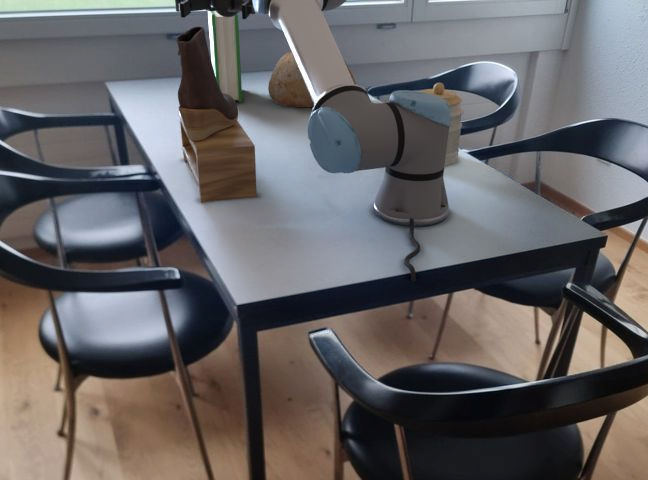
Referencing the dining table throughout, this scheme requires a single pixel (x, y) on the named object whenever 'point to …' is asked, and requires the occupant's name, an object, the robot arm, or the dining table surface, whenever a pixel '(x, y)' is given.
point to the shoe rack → (222, 163)
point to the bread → (290, 84)
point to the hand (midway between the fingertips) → (212, 11)
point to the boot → (201, 89)
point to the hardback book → (226, 53)
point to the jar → (454, 119)
